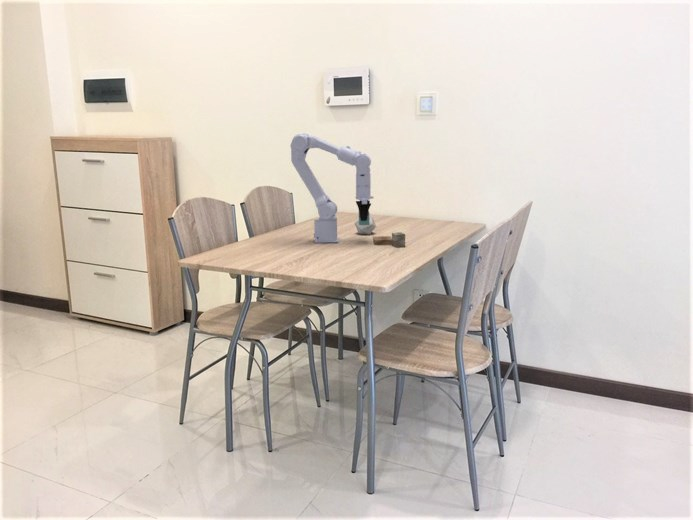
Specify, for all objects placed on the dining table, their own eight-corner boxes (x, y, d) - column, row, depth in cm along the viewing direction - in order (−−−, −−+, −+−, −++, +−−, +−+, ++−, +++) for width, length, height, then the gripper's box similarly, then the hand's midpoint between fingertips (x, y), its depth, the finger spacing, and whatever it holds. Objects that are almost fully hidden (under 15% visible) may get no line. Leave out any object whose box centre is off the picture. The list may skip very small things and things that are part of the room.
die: (362, 237, 245) (376, 219, 243) (347, 226, 248) (361, 208, 247) (369, 241, 252) (382, 223, 251) (355, 229, 255) (368, 212, 254)
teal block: (359, 225, 231) (359, 212, 229) (358, 223, 234) (358, 211, 233) (369, 225, 231) (369, 212, 229) (368, 223, 235) (368, 211, 233)
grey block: (395, 247, 223) (395, 234, 222) (391, 245, 227) (391, 232, 226) (405, 246, 224) (405, 234, 223) (401, 244, 228) (401, 232, 227)
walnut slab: (374, 246, 228) (374, 240, 227) (373, 242, 234) (373, 236, 234) (392, 245, 228) (392, 239, 227) (390, 242, 235) (390, 236, 234)
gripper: (374, 187, 222) (374, 222, 225) (371, 183, 236) (371, 216, 239) (356, 187, 222) (356, 222, 225) (354, 183, 236) (354, 216, 239)
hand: (363, 219), depth 232 cm, fingers closed on teal block, 4 cm apart
